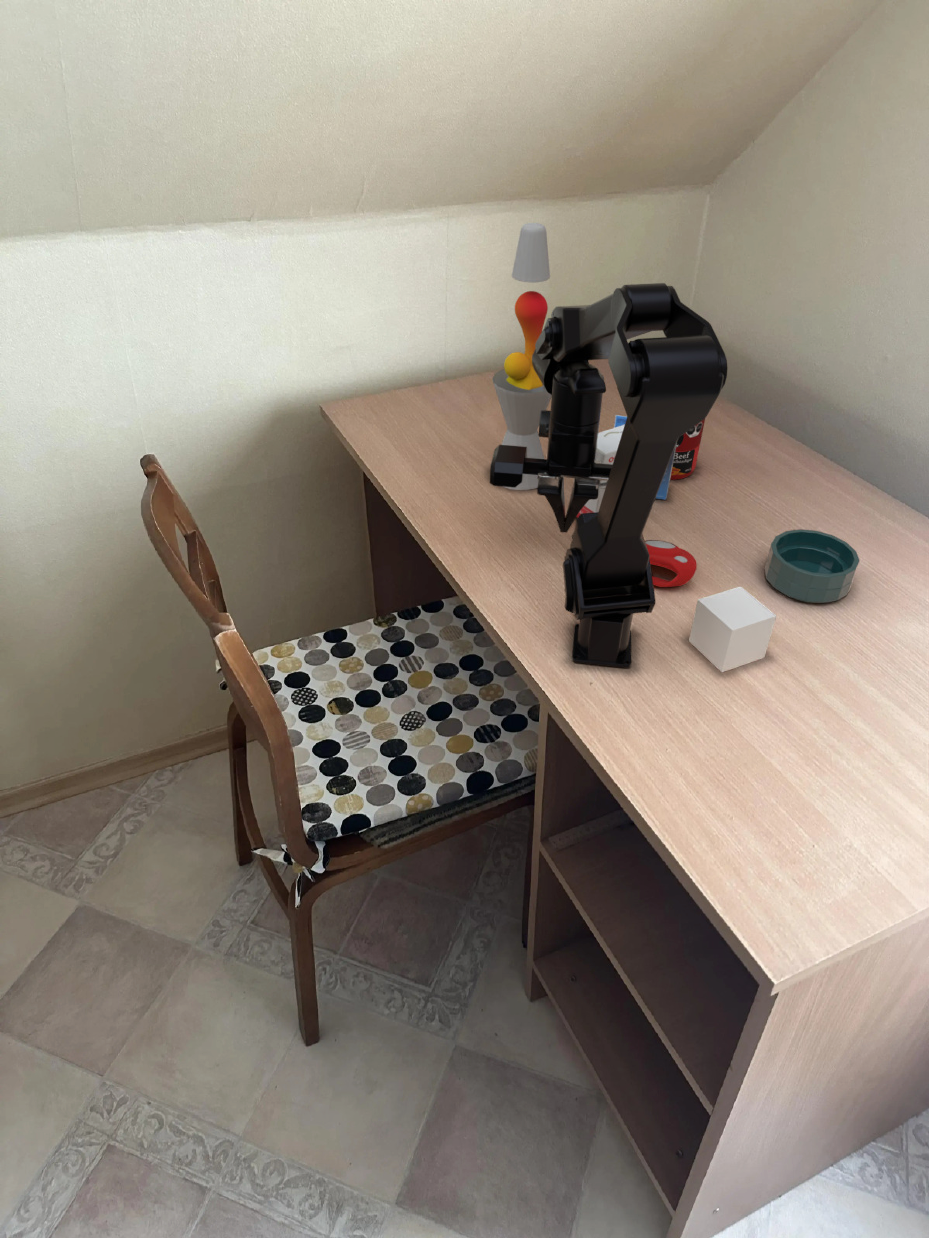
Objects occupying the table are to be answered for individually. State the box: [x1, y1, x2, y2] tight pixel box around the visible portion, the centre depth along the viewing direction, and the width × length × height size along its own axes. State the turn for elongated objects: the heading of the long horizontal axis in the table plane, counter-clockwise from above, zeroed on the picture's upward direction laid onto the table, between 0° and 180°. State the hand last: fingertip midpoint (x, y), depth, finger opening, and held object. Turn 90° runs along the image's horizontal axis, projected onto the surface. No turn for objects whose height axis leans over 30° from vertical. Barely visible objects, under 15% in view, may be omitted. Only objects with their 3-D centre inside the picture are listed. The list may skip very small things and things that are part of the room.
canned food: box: [670, 418, 706, 481], centre depth 131 cm, size 8×8×11 cm
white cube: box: [688, 586, 777, 673], centre depth 100 cm, size 6×6×6 cm
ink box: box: [576, 424, 625, 518], centre depth 120 cm, size 8×5×12 cm, turn 123°
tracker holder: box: [645, 539, 698, 588], centre depth 112 cm, size 12×4×10 cm
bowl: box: [764, 528, 860, 604], centre depth 111 cm, size 10×10×4 cm
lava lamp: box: [492, 222, 552, 491], centre depth 122 cm, size 9×9×35 cm
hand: (564, 530), depth 113 cm, fingers closed
